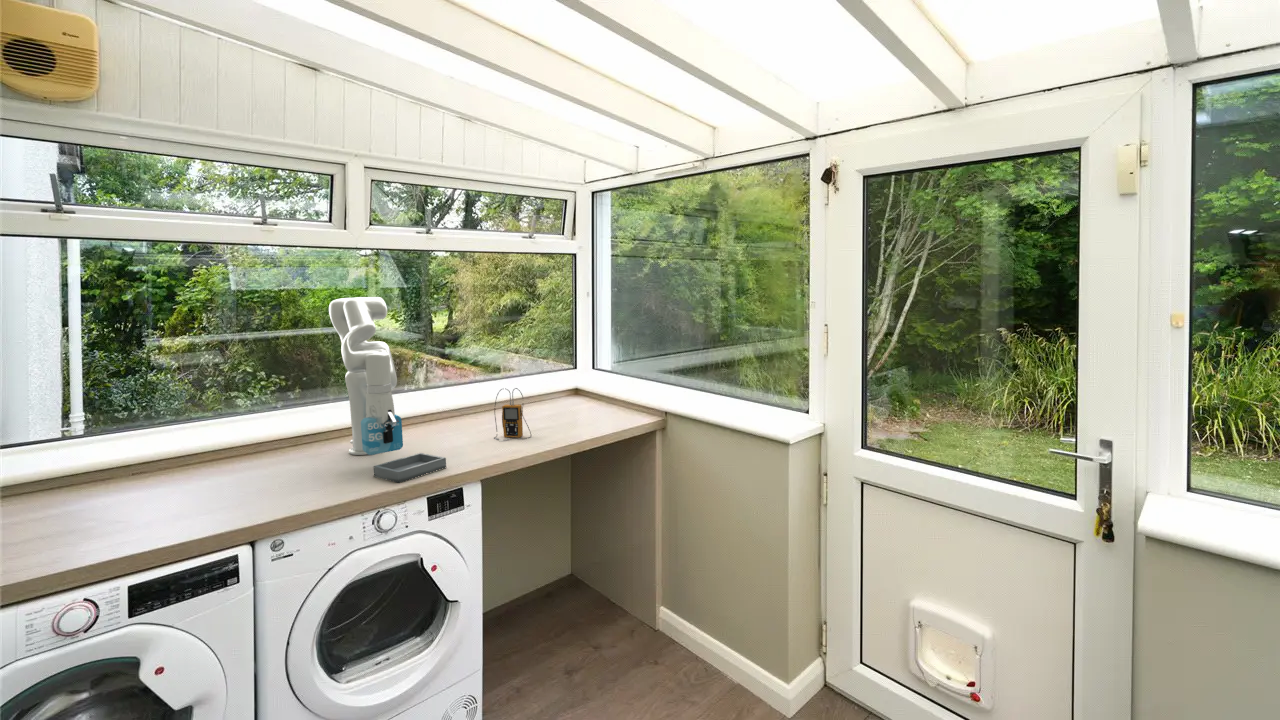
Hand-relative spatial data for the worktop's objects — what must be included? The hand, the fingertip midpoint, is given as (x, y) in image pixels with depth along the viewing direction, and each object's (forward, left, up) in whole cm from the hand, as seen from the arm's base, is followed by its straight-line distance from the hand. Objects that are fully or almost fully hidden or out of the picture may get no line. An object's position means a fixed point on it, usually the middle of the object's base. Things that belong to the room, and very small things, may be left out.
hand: (382, 440), depth 202 cm
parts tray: (+15, 0, -9) cm, 17 cm away
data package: (0, 0, -4) cm, 4 cm away
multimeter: (+12, +48, -9) cm, 50 cm away
